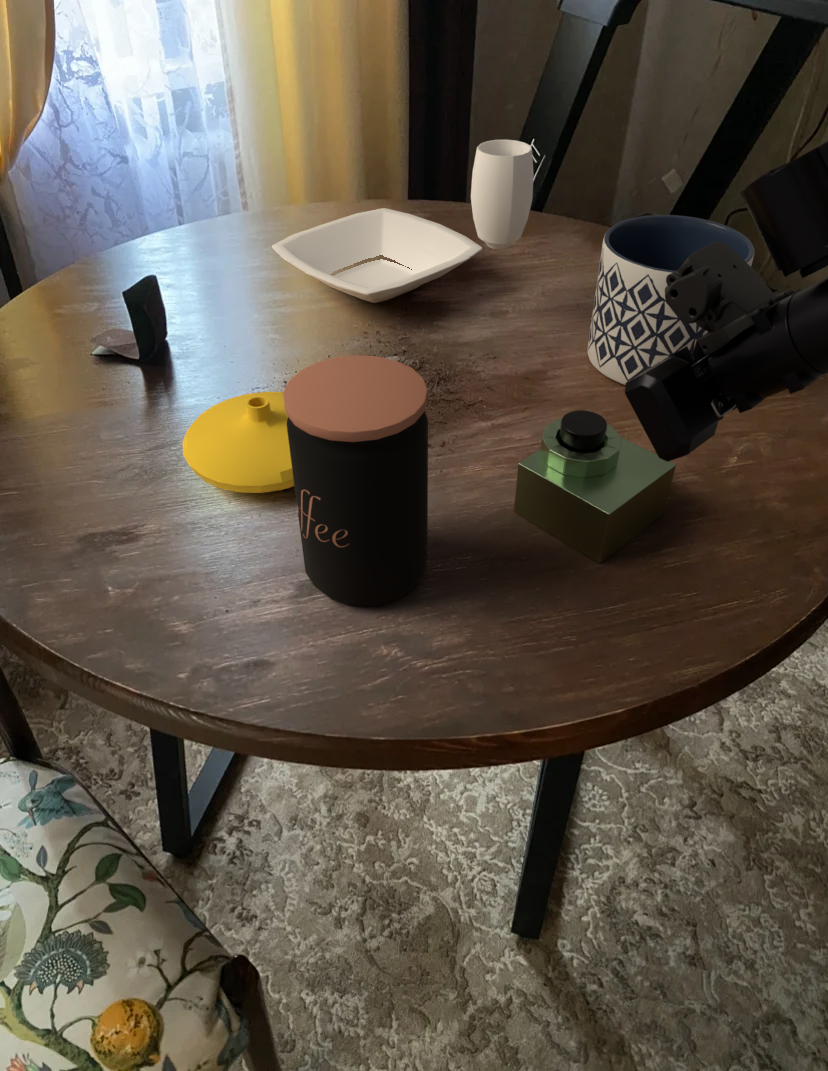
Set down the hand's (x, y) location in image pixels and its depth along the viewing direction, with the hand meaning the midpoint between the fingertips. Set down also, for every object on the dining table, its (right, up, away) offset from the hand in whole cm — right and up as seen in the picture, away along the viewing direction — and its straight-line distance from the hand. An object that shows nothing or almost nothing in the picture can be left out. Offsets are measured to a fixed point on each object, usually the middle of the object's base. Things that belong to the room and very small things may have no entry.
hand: (643, 407), depth 68 cm
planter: (+10, +10, +32) cm, 35 cm away
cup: (-8, +18, +40) cm, 45 cm away
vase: (-34, -3, +17) cm, 38 cm away
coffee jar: (-23, -13, +5) cm, 27 cm away
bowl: (-24, +24, +47) cm, 58 cm away
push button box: (-2, -8, +11) cm, 14 cm away
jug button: (-4, -2, +7) cm, 8 cm away
